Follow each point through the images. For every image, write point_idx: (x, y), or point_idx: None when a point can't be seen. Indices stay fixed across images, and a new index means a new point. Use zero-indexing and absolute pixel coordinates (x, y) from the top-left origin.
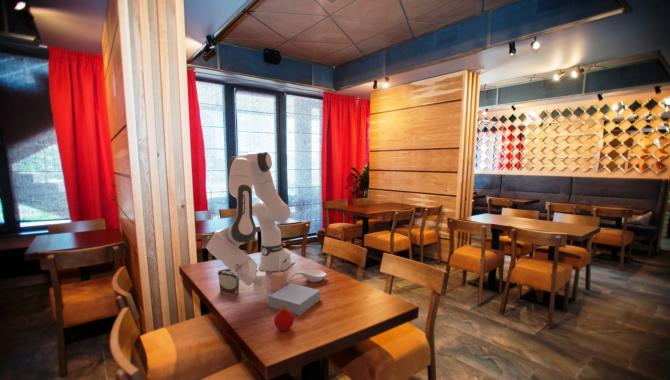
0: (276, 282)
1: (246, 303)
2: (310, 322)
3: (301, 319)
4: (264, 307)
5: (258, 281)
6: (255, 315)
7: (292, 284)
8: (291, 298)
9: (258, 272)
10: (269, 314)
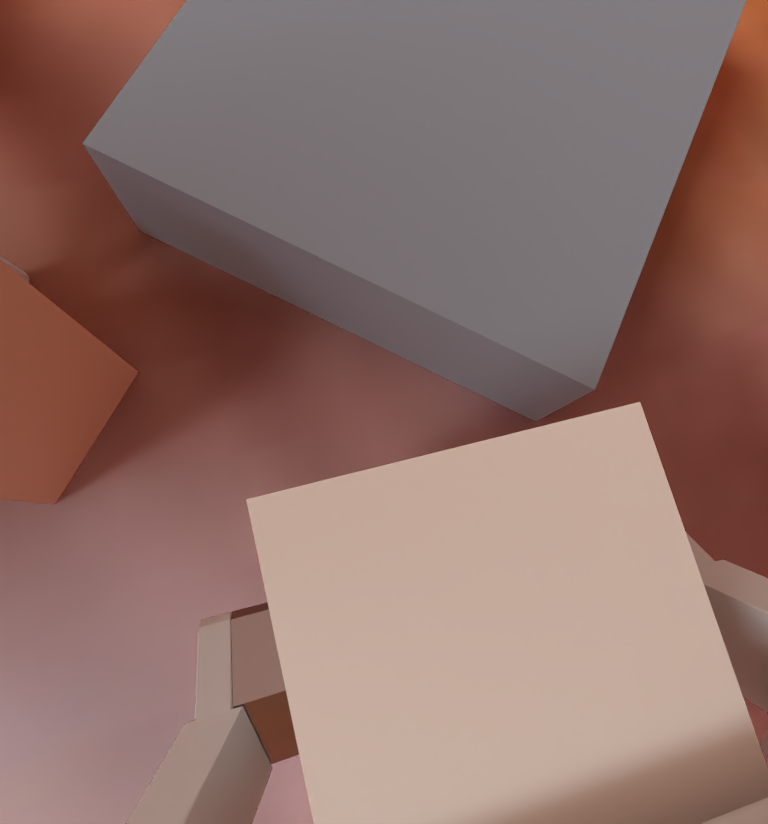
0: (32, 388)
1: None
2: (757, 6)
3: (728, 73)
4: None
5: (732, 581)
6: (753, 509)
7: (139, 118)
8: (618, 82)
9: (372, 779)
10: (704, 366)
